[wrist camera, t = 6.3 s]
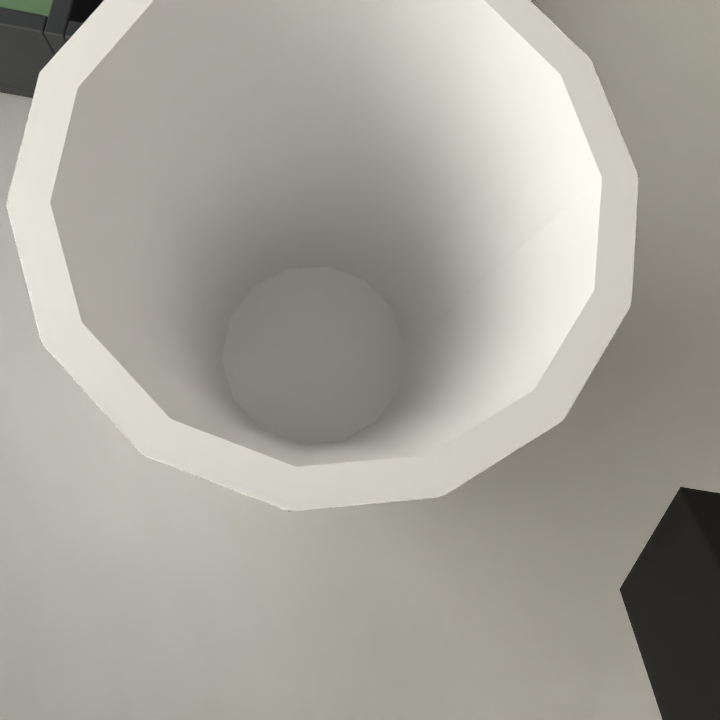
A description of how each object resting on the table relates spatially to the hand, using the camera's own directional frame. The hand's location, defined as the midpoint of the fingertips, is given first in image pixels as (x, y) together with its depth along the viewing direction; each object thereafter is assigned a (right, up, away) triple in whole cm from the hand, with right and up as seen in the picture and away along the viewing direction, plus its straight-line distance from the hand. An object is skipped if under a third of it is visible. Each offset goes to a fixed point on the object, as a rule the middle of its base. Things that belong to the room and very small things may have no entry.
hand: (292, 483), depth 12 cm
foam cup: (0, +2, +11) cm, 11 cm away
